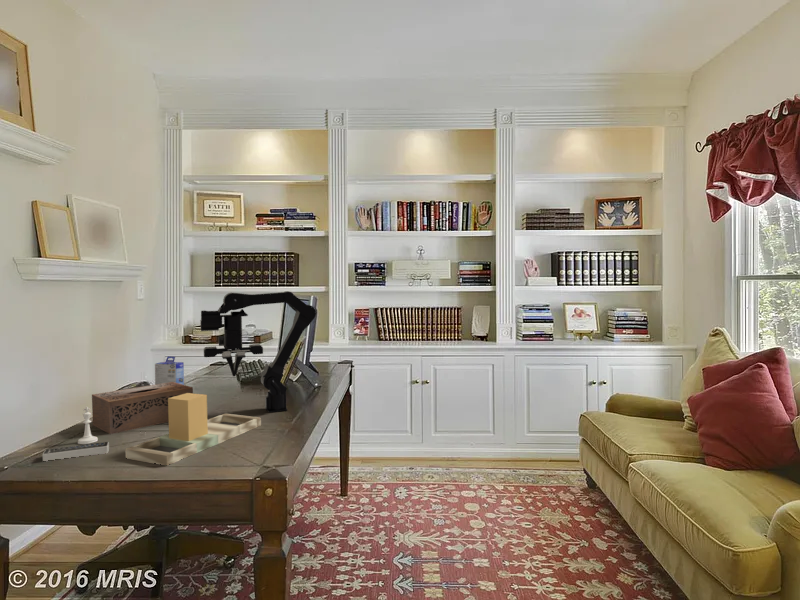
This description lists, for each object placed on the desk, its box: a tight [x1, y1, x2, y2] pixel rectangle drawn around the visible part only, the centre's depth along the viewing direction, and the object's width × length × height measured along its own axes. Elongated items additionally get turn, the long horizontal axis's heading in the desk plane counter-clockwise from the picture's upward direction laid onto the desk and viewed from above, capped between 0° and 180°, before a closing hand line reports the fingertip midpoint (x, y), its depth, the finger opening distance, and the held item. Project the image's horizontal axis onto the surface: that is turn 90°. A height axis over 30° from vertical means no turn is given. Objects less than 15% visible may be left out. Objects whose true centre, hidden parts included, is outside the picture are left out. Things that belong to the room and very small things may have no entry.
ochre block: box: [168, 392, 208, 441], centre depth 144 cm, size 7×7×11 cm
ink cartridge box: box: [154, 356, 185, 385], centre depth 209 cm, size 10×6×14 cm, turn 78°
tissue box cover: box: [91, 382, 194, 435], centre depth 169 cm, size 26×14×10 cm, turn 138°
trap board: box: [125, 413, 262, 466], centre depth 148 cm, size 37×14×2 cm, turn 158°
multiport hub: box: [42, 441, 110, 462], centre depth 136 cm, size 4×14×2 cm, turn 116°
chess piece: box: [77, 405, 99, 445], centre depth 147 cm, size 5×5×10 cm
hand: (234, 376), depth 176 cm, fingers closed
